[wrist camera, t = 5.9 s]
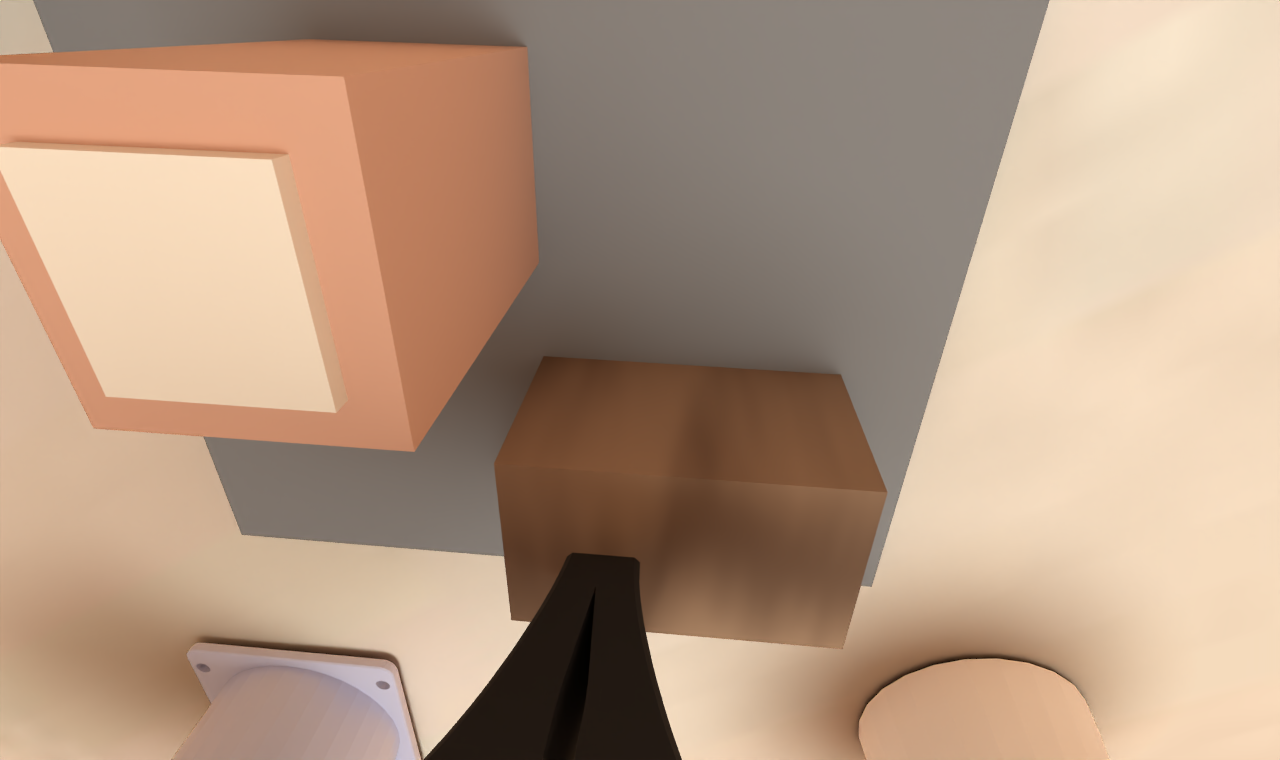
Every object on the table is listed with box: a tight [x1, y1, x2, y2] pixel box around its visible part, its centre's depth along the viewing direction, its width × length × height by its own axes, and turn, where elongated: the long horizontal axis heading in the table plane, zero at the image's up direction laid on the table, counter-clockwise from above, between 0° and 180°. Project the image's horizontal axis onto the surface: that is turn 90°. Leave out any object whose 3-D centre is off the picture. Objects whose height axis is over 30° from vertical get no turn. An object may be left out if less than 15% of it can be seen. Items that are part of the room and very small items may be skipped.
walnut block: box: [494, 356, 888, 649], centre depth 15 cm, size 4×4×8 cm
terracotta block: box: [0, 39, 539, 452], centre depth 10 cm, size 4×4×8 cm
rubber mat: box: [33, 0, 1049, 587], centre depth 16 cm, size 16×20×1 cm
